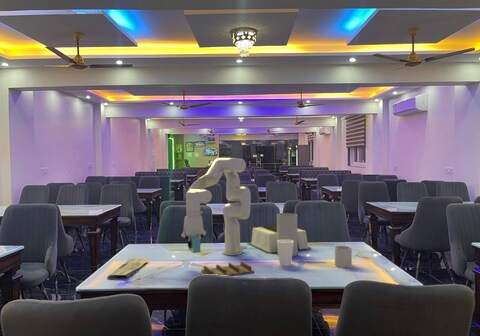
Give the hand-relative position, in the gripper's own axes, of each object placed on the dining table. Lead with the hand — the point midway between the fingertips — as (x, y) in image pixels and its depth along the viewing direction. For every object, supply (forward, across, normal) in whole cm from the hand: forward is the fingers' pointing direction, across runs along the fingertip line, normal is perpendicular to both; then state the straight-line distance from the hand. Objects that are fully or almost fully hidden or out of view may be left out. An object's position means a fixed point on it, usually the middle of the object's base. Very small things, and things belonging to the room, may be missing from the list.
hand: (194, 247), depth 202 cm
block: (+2, 0, 0) cm, 2 cm away
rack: (+12, -13, +15) cm, 23 cm away
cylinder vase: (+13, -61, -4) cm, 63 cm away
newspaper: (+12, +32, -14) cm, 37 cm away
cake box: (+14, -69, -28) cm, 76 cm away
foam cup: (+13, -48, +15) cm, 52 cm away
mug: (+13, -76, +31) cm, 83 cm away
